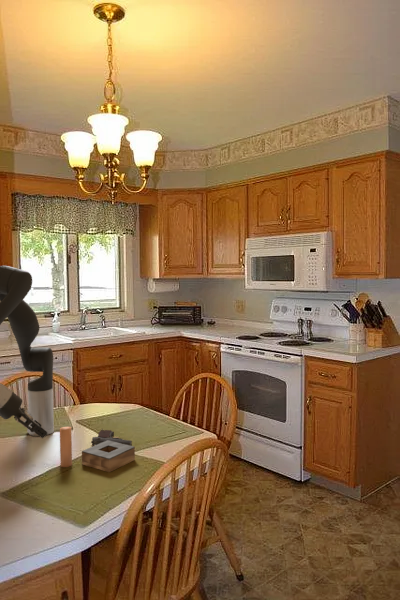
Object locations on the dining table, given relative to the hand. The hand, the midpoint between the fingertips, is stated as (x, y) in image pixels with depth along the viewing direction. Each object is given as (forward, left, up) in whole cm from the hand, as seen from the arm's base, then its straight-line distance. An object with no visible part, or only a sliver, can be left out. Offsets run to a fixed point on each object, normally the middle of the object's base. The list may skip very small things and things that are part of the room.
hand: (42, 431), depth 153 cm
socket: (+13, +15, -12) cm, 24 cm away
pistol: (+2, +31, -13) cm, 34 cm away
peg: (+3, +6, -12) cm, 14 cm away
